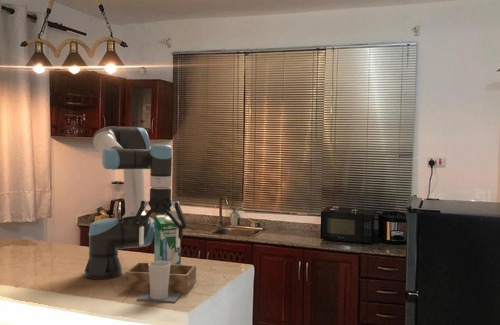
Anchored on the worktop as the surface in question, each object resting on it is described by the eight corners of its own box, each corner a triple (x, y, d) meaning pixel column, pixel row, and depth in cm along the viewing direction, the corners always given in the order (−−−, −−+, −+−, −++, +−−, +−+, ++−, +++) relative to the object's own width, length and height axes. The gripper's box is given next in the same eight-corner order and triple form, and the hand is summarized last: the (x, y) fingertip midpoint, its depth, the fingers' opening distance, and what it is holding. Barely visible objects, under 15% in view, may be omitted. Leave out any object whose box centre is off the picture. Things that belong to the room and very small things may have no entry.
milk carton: (159, 277, 185) (160, 218, 184) (154, 272, 193) (154, 215, 192) (180, 275, 189) (181, 217, 188) (174, 269, 197) (174, 214, 196)
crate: (125, 290, 168) (125, 272, 168) (138, 279, 182) (139, 262, 182) (187, 293, 166) (187, 275, 166) (195, 282, 180) (196, 265, 179)
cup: (149, 292, 164) (149, 260, 164) (171, 292, 165) (171, 260, 165) (146, 300, 156) (146, 266, 156) (169, 300, 157) (169, 266, 157)
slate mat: (136, 300, 158) (136, 299, 158) (144, 293, 166) (144, 291, 165) (174, 302, 156) (174, 301, 156) (180, 295, 164) (180, 293, 164)
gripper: (123, 187, 157) (122, 246, 158) (192, 190, 154) (190, 250, 155) (131, 185, 164) (130, 241, 165) (196, 187, 162) (195, 245, 163)
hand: (159, 245), depth 160 cm, fingers open, 13 cm apart
